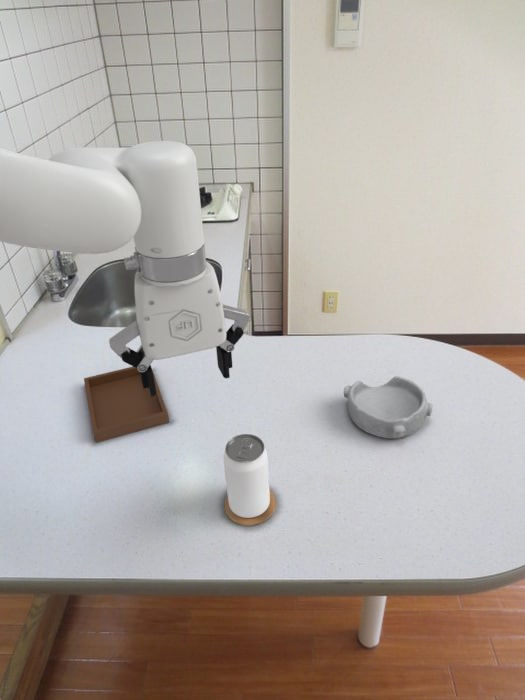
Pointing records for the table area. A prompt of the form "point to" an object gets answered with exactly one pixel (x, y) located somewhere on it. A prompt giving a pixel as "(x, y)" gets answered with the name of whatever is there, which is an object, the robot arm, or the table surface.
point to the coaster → (254, 520)
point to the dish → (388, 407)
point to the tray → (122, 404)
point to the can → (247, 475)
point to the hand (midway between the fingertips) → (188, 381)
